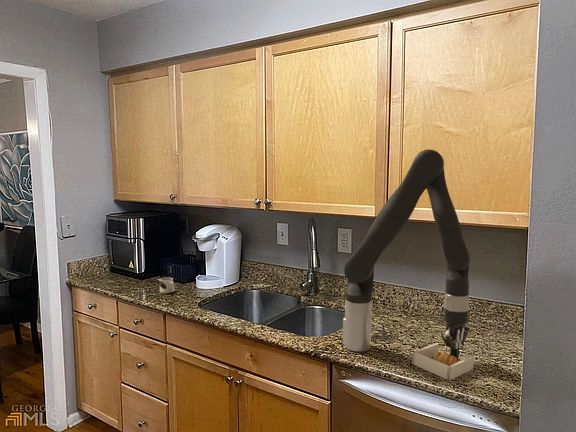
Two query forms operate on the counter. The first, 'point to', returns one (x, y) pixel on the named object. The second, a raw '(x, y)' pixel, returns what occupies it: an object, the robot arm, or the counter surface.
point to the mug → (166, 285)
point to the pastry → (446, 358)
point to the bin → (448, 372)
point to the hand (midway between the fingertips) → (454, 358)
